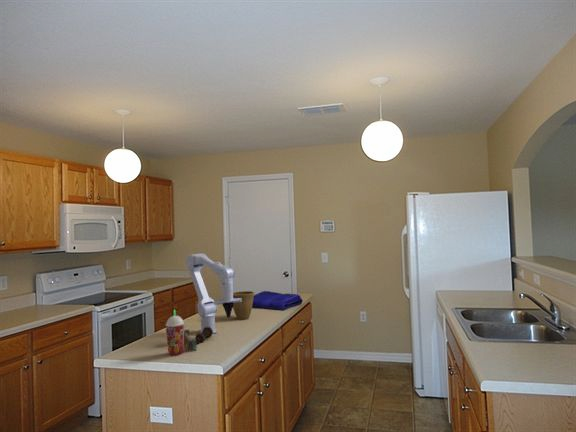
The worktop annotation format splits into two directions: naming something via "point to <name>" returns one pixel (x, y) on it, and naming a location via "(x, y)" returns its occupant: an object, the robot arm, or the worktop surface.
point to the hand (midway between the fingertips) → (228, 317)
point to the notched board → (189, 341)
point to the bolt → (203, 335)
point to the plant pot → (243, 304)
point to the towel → (275, 300)
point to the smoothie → (175, 335)
